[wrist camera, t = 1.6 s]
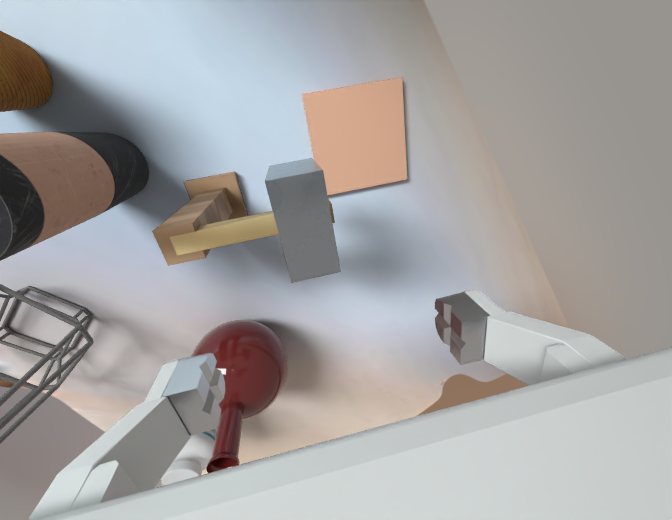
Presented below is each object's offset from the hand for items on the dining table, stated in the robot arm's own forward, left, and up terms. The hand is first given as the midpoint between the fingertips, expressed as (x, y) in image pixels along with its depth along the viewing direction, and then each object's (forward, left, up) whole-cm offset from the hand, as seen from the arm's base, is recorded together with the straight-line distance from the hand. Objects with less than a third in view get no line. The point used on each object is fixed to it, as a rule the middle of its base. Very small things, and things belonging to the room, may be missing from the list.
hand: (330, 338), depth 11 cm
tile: (-4, +9, -31) cm, 33 cm away
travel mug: (-6, -20, -31) cm, 38 cm away
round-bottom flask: (+22, -13, -31) cm, 40 cm away
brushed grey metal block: (0, 0, -21) cm, 21 cm away
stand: (0, -5, -31) cm, 31 cm away
